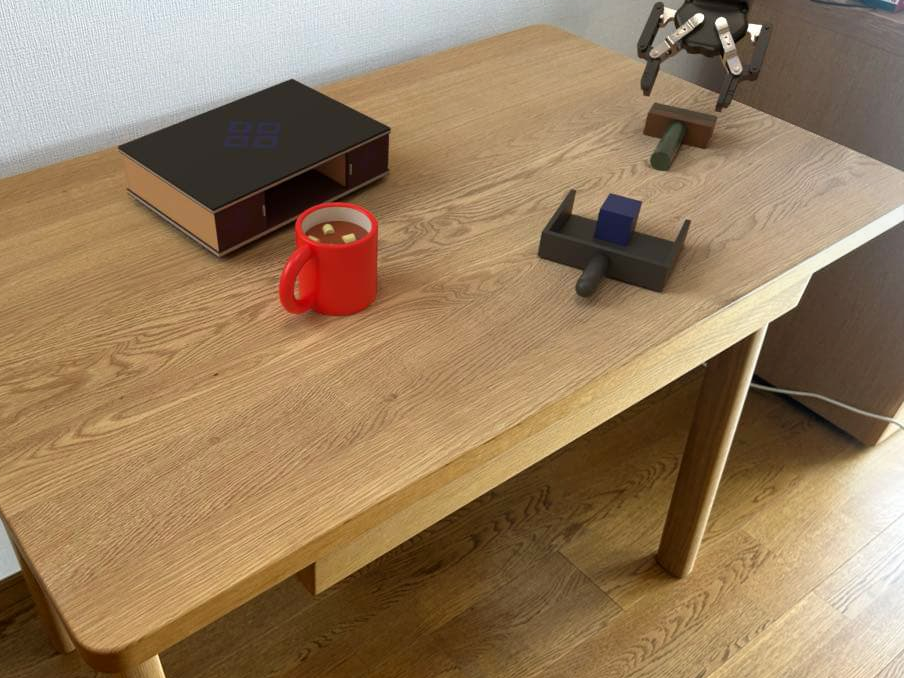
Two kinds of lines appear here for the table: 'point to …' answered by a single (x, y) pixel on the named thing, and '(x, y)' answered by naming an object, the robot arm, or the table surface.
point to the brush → (676, 131)
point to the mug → (332, 261)
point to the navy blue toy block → (617, 219)
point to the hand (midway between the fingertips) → (681, 101)
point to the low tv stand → (255, 164)
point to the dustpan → (607, 251)
